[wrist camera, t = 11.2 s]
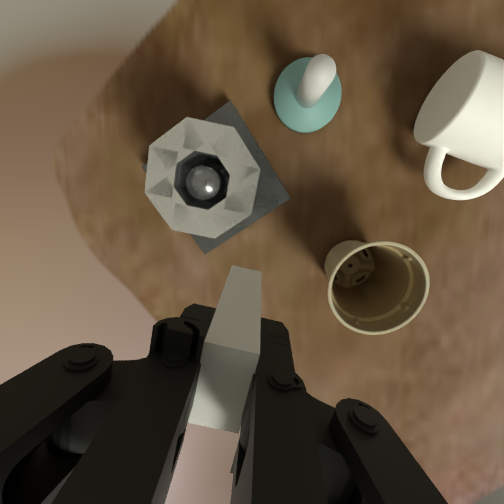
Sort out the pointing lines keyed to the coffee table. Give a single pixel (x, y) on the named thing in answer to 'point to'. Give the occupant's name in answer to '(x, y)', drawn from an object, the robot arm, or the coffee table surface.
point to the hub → (217, 178)
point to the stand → (307, 93)
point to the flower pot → (375, 285)
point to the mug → (465, 122)
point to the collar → (184, 160)
